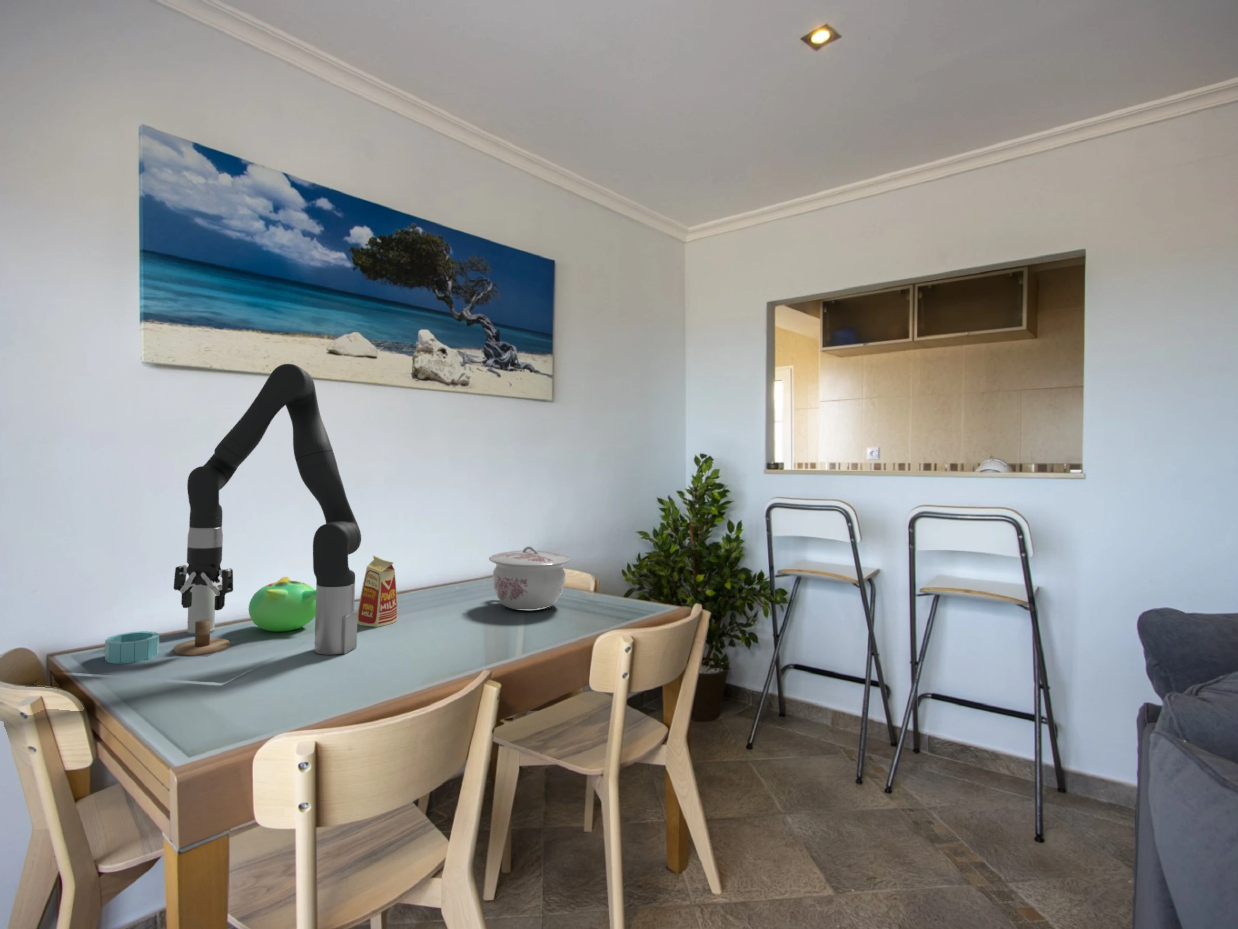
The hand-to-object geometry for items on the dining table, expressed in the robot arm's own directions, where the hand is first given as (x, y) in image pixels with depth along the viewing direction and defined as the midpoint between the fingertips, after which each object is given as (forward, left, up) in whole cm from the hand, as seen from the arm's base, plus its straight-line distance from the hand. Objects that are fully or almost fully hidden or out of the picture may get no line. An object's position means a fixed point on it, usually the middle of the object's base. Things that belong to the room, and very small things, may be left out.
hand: (202, 608), depth 168 cm
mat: (0, 0, -11) cm, 11 cm away
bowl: (+11, +9, -11) cm, 18 cm away
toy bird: (-9, -21, -11) cm, 25 cm away
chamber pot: (-69, -65, -11) cm, 95 cm away
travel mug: (+10, -13, -11) cm, 19 cm away
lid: (0, 0, -10) cm, 10 cm away
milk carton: (-30, -35, -11) cm, 47 cm away
